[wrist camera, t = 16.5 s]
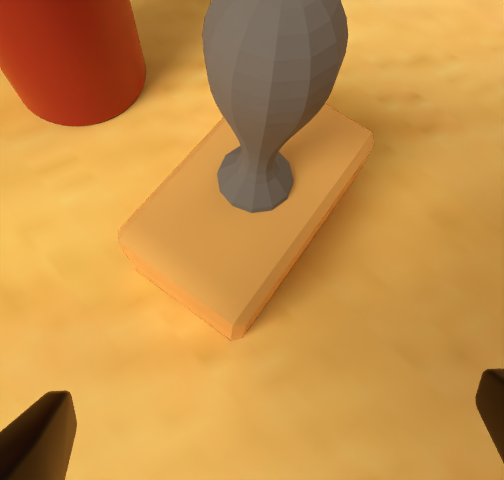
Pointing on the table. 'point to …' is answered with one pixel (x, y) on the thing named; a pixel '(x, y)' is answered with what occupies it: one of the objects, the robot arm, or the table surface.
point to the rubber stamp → (253, 162)
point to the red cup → (72, 57)
